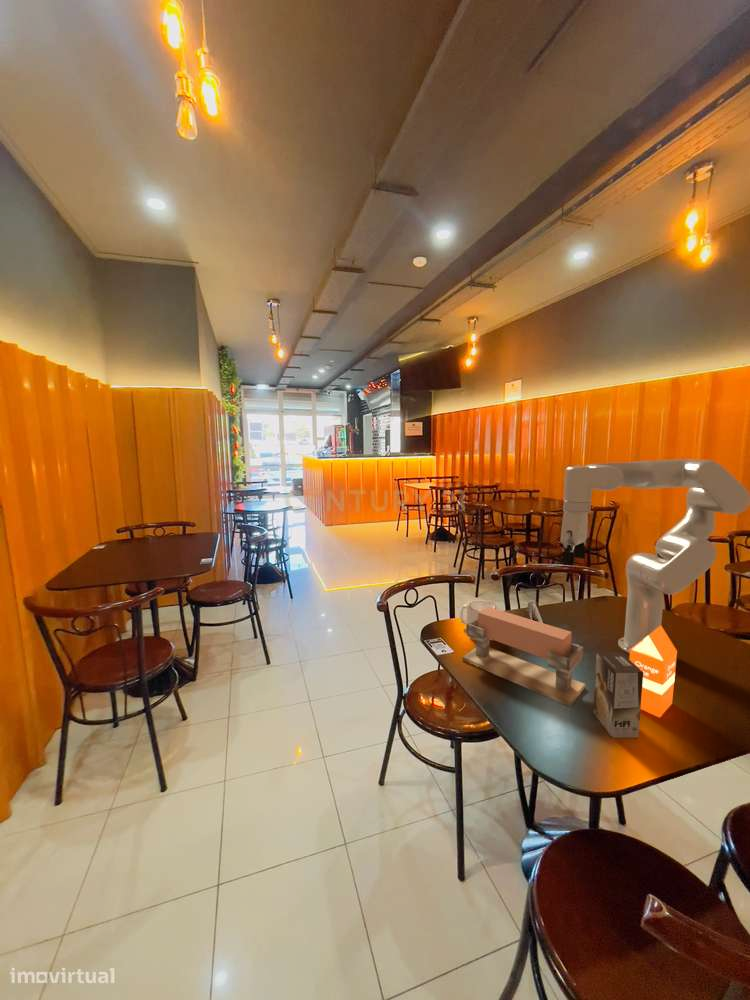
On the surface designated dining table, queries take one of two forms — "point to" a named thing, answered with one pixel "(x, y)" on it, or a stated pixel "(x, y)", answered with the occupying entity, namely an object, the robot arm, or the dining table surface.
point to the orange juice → (656, 670)
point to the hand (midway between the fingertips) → (573, 561)
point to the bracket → (533, 608)
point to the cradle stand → (528, 668)
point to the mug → (474, 610)
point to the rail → (524, 633)
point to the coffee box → (618, 694)
